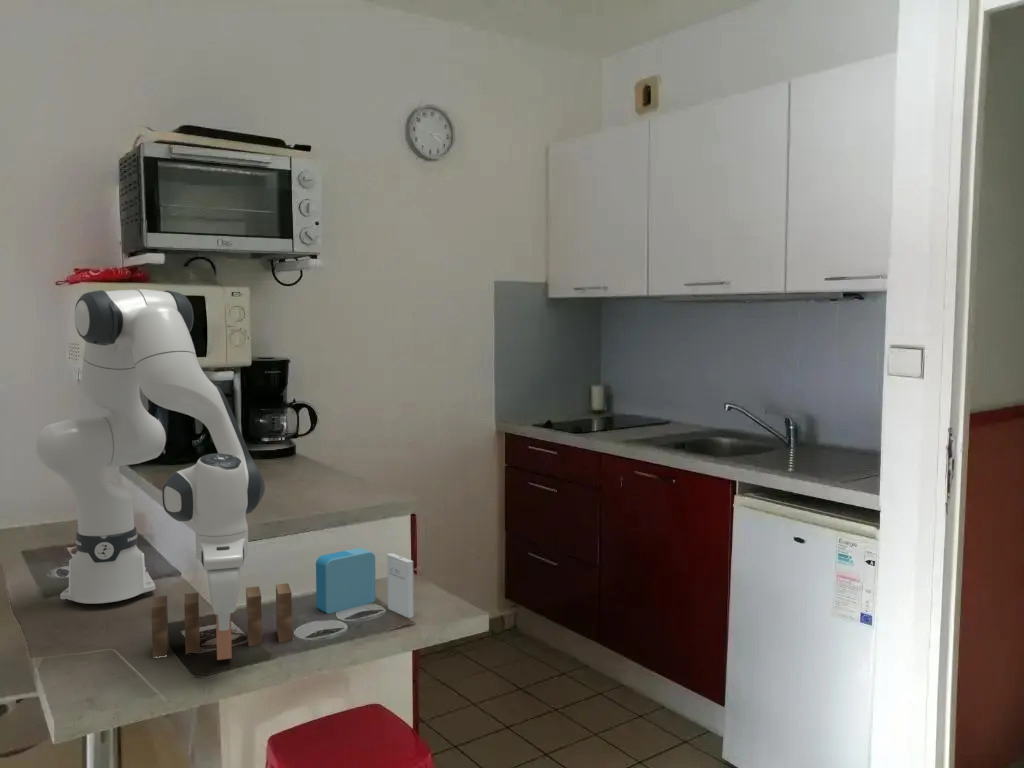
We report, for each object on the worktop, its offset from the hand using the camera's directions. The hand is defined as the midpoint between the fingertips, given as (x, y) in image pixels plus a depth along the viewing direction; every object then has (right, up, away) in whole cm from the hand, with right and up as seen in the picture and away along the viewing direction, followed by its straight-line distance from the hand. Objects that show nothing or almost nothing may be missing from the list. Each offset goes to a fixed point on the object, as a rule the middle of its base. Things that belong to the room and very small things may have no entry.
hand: (223, 621), depth 149 cm
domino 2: (-8, -7, +6) cm, 12 cm away
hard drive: (+29, -6, +25) cm, 38 cm away
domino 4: (+3, -7, +10) cm, 12 cm away
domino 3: (0, -6, 0) cm, 6 cm away
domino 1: (-13, -7, +4) cm, 15 cm away
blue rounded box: (+16, -6, +29) cm, 34 cm away
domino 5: (+8, -7, +12) cm, 15 cm away
